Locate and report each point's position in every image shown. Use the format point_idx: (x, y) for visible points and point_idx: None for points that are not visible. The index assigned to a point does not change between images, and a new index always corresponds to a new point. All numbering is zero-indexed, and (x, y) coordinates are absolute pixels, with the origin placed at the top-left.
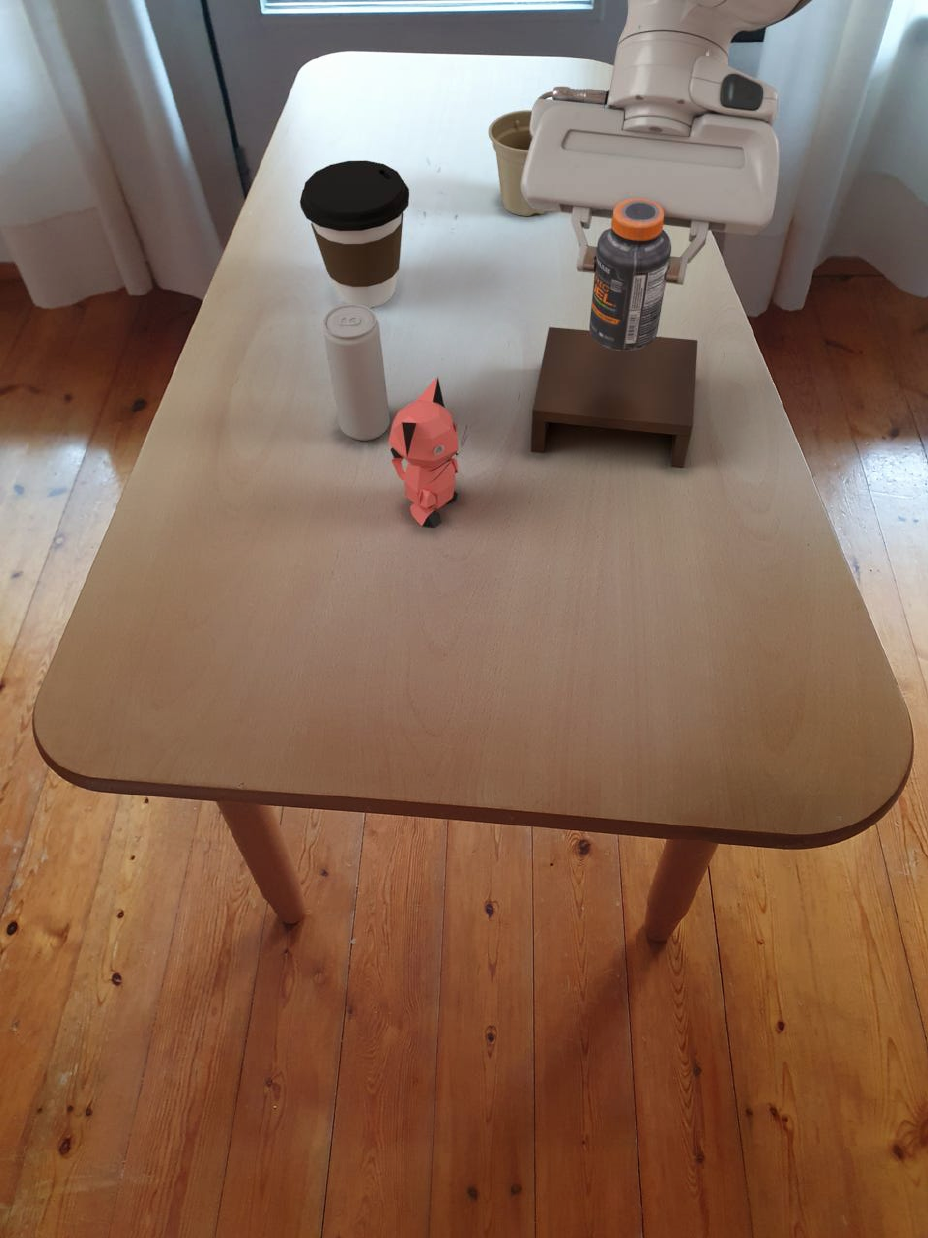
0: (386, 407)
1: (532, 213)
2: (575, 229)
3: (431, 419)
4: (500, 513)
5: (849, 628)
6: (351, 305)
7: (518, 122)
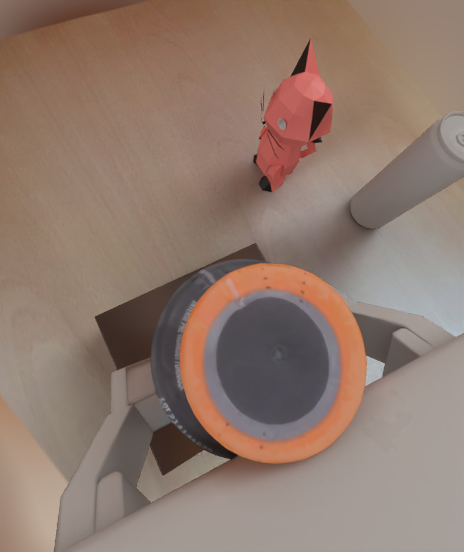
0: (365, 205)
1: None
2: (393, 311)
3: (296, 79)
4: (223, 190)
5: None
6: None
7: None
